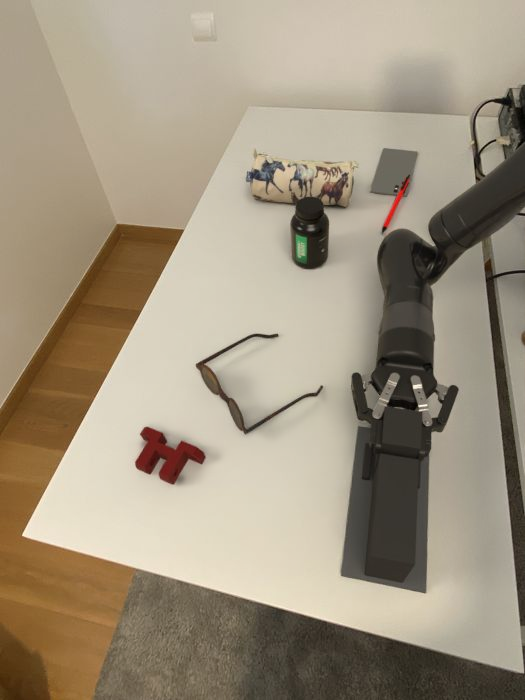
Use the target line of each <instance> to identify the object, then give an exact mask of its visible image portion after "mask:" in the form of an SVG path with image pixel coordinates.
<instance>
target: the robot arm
mask: <svg viewBox="0 0 525 700" xmlns="http://www.w3.org/2000/svg"><path fill="white" fill-rule="evenodd" d="M524 209H525V141H524V142H523V143H522V144H521V145H520V146H519V147H517V148H516V149H515V150H514V151H513V152H512V153H511V154H510V155H508V157H506V158H505V159H504V160H503V161H502V162H501V163H500V164H498V165H497V166H496V167H495V168H493V169H492V170H491V171H490V172H489V173H487V174H486V175H485V176H483V178H481V179H479V180H478V181H477V182H476V183H475V184H473V185H472V186H470V187H469V188H468V189H466V190H465V191H464V192H462V193H461V194H459V195H458V196H457V197H456V198H454V199H453V200H451V201H450V202H449V203H447V204H446V205H445V206H443V207H442V208H441V209H439V210H437V212H435V214H433V215H432V217H431V218H430V219H429V221H428V225H427V228H428V229H427V231H428V234H429V237H430V239H431V241H432V243H434V245H432V244H431V243H430V242H428V241H427V240H425V239H424V238H422V237H421V236H420V235H418V234H417V233H416V232H414V231H412V230H410V229H408V228H397V229H394V230H392V231H390V232H389V233H388V234H387V235H385V236H384V238H383V239H382V241H381V242H380V244H379V247H378V250H377V255H376V266H377V272H378V276H379V281H380V285H381V289H382V293H383V296H384V297H383V305H382V315H381V320H380V323H379V328H378V338H377V347H376V357H375V366H374V369H373V370H372V372H371V373H370V374H365V375H364V374H362V375H361V373H360V372H355V371H354V372H353V373H352V374H351V377H350V389H351V395H352V399H353V405H354V410H355V415H356V419H357V420H358V421H360V422H366V423H367V424H369V426H370V428H371V429H370V438H369V446H370V448H372V449H374V454H380V451H381V441H382V429H383V421H382V416H383V414H384V408H385V406H387V407H394V408H401V409H408V410H415V411H422V412H423V414H422V443H421V451H420V452H419V455H418V457H417V459H419V461H423V459H424V457H428V455H429V456H430V453H431V451H432V435H433V434H432V433H434V432H435V433H442V432H443V431H444V430H445V428H446V426H447V423H448V421H449V419H450V416H451V413H452V410H453V407H454V405H455V402H456V400H457V396H458V394H459V391H460V390H459V389H460V388H459V387H458V385H456V384H450V385H449V386H446V385H443V384H441V383H438V380H437V378H436V376H435V374H434V371H435V370H434V368H435V365H434V364H435V363H434V362H435V341H436V334H435V323H434V293H433V289H432V286H434V285H435V284H436V283H437V282H438V281H439V280H440V279H441V278H442V277H443V276H444V275H445V274H446V273H447V271H448V270H449V269H450V268H451V267H452V266H453V265H454V264H455V263H456V262H457V261H458V260H459V258H460V257H462V255H463V254H464V253H466V251H467V252H468V250H470V249H471V248H473V247H475V246H476V245H478V244H480V243H481V242H483V241H484V240H486V239H488V238H489V237H491V236H492V235H494V234H495V233H496V232H497V233H498V231H500V230H501V229H502V228H504V227H505V226H506V225H507V224H509V223H510V222H511V221H512V220H513V219H514V218H516V217H517V215H519V214H520V213H521V212H522V211H523V210H524ZM370 385H371V386H372V388H373V389H374V391H375V392H376V393H377V395H378V396H379V397H378V400H377V403H376V404H375V407H374V408H371V407H369V405H368V401H367V396H366V392H367V391H368V387H369V386H370ZM433 394H435V395H436V396H437V401H438V403H439V404H441V407H440V408H439V411H438V414H437V416H435V417H432V416H431V412H430V409H429V402H428V399H429V398H431V396H432V395H433Z"/></svg>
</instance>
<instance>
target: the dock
mask: <svg viewBox="0 0 525 700" xmlns="http://www.w3.org/2000/svg"><path fill="white" fill-rule="evenodd" d="M370 429H371V427H368V426H362V425H357V431H356V440H355V449H354V459H353V467H352V475H351V482H350V483H351V484H350V492H349V500H348V502H349V503H348V511H347V518H346V527H345V536H344V545H343V552H342V553H343V554H342V563H341V571H340V576H341V577H343V578H348V579H354V580H358V581H363V582H368V583H373V584H378V585H383V586H387V587H393V588H397V589H401V590H406V591H411V592H417V593H422V594H426V593H427V585H428V584H427V579H428V541H429V540H428V537H429V536H428V534H429V533H428V531H429V530H428V529H429V495H430V493H429V492H430V491H429V490H430V489H429V488H430V487H429V486H430V454H429V455H428V457H424V459H423V461H419V459H413V458H407V457H400V456H394V455H388V454H382V453H380V456H379V460H378V464H377V467H376V471H375V472H374V467H375V456H376V454H374V449H372V448H370V446H369V438H370Z"/></svg>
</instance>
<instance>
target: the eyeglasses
mask: <svg viewBox="0 0 525 700" xmlns="http://www.w3.org/2000/svg"><path fill="white" fill-rule="evenodd" d="M278 337H279V333H273V334H265V333H252V334H249V335H247V336H245V337H243V338H241V339H240V340H238V341H236V342H233V343H232V344H230V345H228V346H226V347H225V348H223V349H220V350H219V351H217V352H215V353H213V354H212V355H209V356H208V357H206V358H204V359H202V360H201V361H199V362H197V363H195V367H196V369H197V370H198V371H199V372H200V375H201V378H202V381H203V382H204V384H205V386H206V387H207V388H208V390H210V392H211V393H212V394H214V395H215V396H219V398H220V399H221V400H222V401H224V402H225V403H226V404H227V407H228V411H229V413H230V416H231V418H232V420H233V423H234V424H235V426H236V427H237V429H238V430H239V431H240V432H243V434H244V435H245V436H246V435H247V434H249V433H251V432H252V431H254V430H257V429H258V428H259V427H260V426H262V425H263V424H265V423H267V422H269V421H270V420H272V419H273V418H274V417H276V416H278V415H279V414H281V413H283V412H285V411H286V410H288V409H289V408H290V407H292V406H294V405H296V404H297V403H300V402H301V401H303V400H304V399H306V398H312V397H318V396H319V395H320V393H321V391H322V390H323V388H324V385H322V384H321V385H320V386H319V387H318V389H317V391H316V392H308V393H306V394H303V395H301V396H299V397H298V398H295V399H294V400H293V401H291V402H289V403H287V404H285V405H284V406H282V407H281V408H279V409H277V410H275V411H274V412H273V413H271V414H269V415H267V416H265V417H264V418H262V419H260V420H259V421H258V422H256V423H254V424H253V425H251V426H250V427H247V428H246V426H245V420H244V416H243V414H242V411H241V409H240V406H239V405H238V403H237V401H236V400H235V399H234V398H232V397H229V396H228V395H227V394H226V393H225V391H224V389H223V388H222V386H221V384H220V381H219V378H218V377H217V375H216V374H215V372H214V371H213V370H212V368H210V366H208V365H206V364H207V363H209V362H211V361H213V360H214V359H216V358H218V357H220V356H222V355H224V354H225V353H226V352H229V351H231V350H232V349H234V348H235V347H237V346H239V345H241V344H243V343H244V342H246V341H249V340H250V339H253V338H262V339H274V338H278Z"/></svg>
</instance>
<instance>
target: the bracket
mask: <svg viewBox="0 0 525 700" xmlns="http://www.w3.org/2000/svg"><path fill="white" fill-rule="evenodd" d="M139 435H140V436H141V439H142V440H143V441H145V442H146V444H145V445H144V447H143V449H142V450H141V451H140V453H139V455H138V456H137V458H136V459H135V461H134V466H135V468H136V470H138V471H140V472H143V473H145V474H148V475H151V474H152V473H153V471H154V469H155V468H156V466H157V465H158V463H159V462H160V459H161V460H163V461H164V463H163V465H162V466H161V467H160V469H159V471H158V478H159V480H160V481H163V482H165V483H167V484H169V485H173V486H174V485H175V484H176V482H177V480H178V479H179V477H180V475H181V474H182V471H183V469H184V468H185V467H186V464H187V463H188V461H189V460H190V461H193V462H195V463H197V464H199V465H203V463H204V462H205V460H206V458H207V457H206V453H205V452H204V451H203V450H202V449H201V448H199V447H198V446H196V445H194V444H191V443H188V442H186V441H183V440H180V441H179V443H178V445H177V447H176V448H173V447H170V446H168V445H166V444H167V443H168V440H167V438H166V437H165V435H164V433H163V432H162V431H159V430H157V429H155V428H152V427H150V426H144V427H143V428H142V430H141V432H140V433H139Z"/></svg>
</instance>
